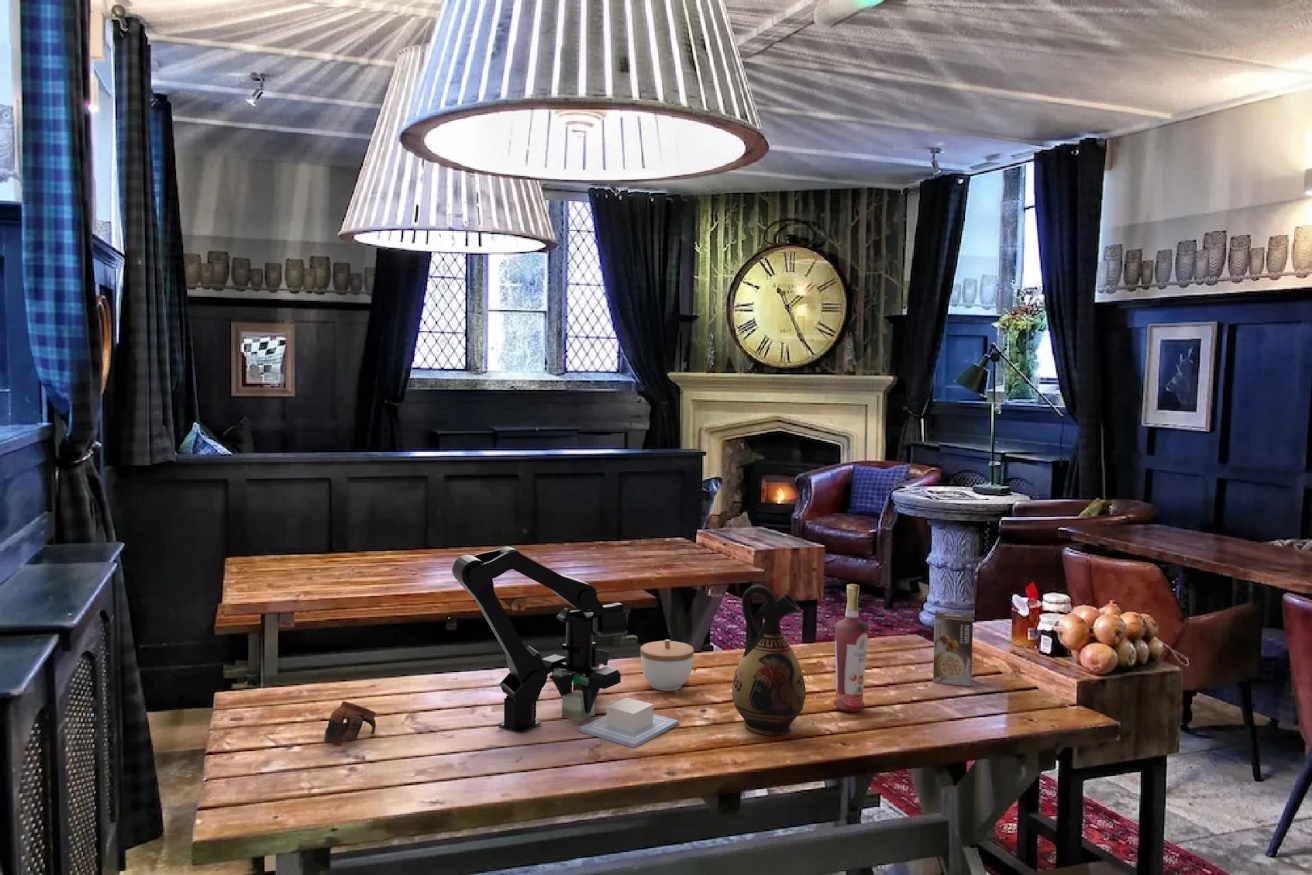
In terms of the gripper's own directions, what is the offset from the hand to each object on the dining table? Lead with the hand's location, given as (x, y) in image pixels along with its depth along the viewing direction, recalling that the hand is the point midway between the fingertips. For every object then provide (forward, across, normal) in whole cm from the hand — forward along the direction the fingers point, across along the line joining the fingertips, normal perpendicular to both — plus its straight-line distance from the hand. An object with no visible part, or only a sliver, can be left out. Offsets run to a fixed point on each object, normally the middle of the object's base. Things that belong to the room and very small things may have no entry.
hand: (578, 710), depth 214 cm
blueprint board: (+1, -13, -1) cm, 13 cm away
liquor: (+1, -45, -40) cm, 60 cm away
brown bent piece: (+2, +28, +38) cm, 47 cm away
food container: (+2, +6, -11) cm, 13 cm away
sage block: (+1, 0, 0) cm, 1 cm away
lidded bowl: (+2, -4, -28) cm, 28 cm away
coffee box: (+1, -57, -74) cm, 93 cm away
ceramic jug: (+1, -35, -19) cm, 40 cm away
